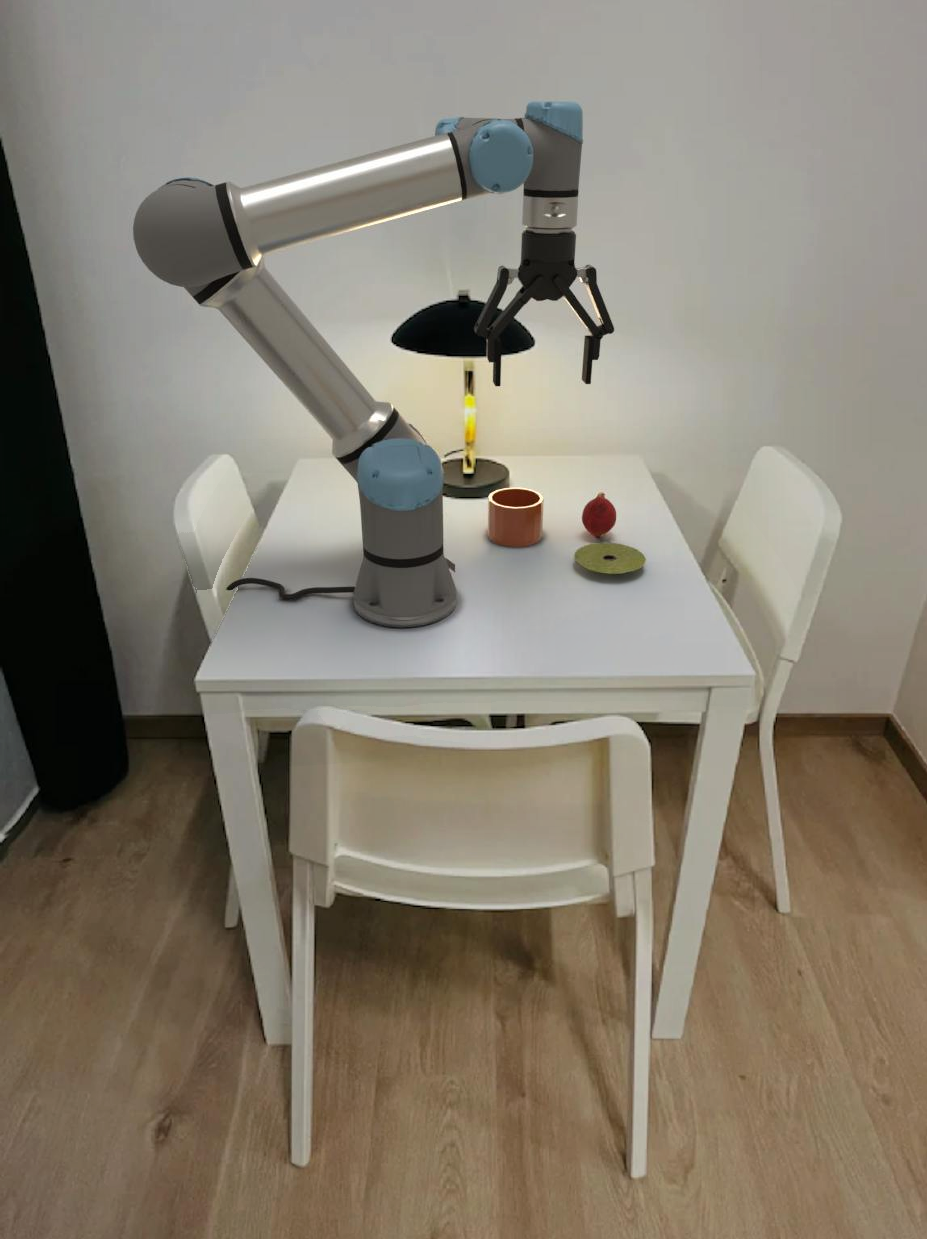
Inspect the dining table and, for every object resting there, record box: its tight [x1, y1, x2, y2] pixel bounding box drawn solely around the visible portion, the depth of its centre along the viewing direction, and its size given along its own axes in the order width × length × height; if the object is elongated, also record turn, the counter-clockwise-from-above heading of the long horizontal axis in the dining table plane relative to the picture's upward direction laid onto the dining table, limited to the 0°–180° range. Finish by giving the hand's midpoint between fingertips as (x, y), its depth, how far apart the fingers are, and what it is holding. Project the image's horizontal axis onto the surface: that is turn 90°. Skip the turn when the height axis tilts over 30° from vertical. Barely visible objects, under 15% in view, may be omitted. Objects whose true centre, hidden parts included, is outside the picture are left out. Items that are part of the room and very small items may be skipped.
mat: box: [573, 542, 646, 575], centre depth 146 cm, size 11×11×2 cm
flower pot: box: [487, 487, 545, 548], centre depth 155 cm, size 9×9×7 cm
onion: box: [581, 491, 617, 538], centre depth 155 cm, size 6×6×8 cm
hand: (541, 383), depth 137 cm, fingers open, 13 cm apart
